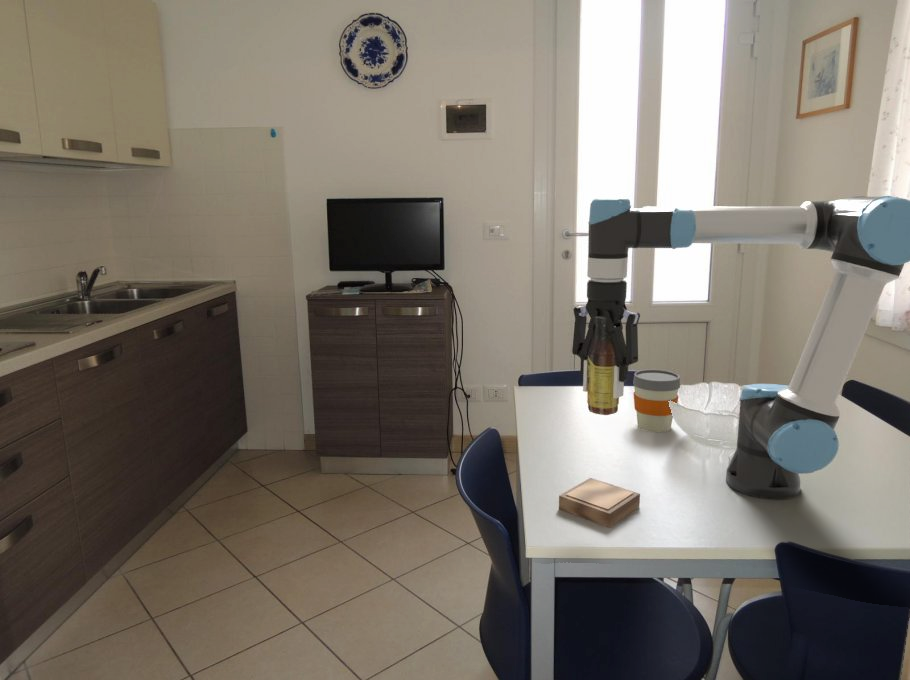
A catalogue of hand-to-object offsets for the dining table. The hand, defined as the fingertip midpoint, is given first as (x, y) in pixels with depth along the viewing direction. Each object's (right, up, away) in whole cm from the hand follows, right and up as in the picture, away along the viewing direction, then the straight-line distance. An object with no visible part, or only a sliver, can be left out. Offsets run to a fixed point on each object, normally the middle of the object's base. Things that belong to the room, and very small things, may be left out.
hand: (602, 393), depth 135 cm
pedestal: (0, -25, +5) cm, 25 cm away
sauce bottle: (0, -4, +1) cm, 4 cm away
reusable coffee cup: (+26, -14, +53) cm, 61 cm away
